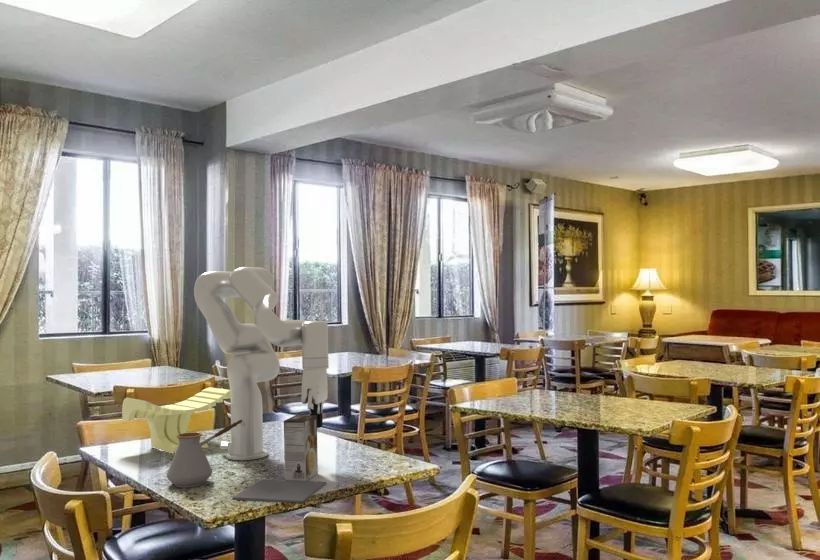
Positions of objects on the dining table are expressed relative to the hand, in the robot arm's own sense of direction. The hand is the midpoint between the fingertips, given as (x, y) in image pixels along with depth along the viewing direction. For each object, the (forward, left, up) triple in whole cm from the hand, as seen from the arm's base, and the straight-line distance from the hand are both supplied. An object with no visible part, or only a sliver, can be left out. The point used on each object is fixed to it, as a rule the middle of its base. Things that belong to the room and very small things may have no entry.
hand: (316, 427), depth 199 cm
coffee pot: (-24, -19, -11) cm, 33 cm away
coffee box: (0, -12, -11) cm, 17 cm away
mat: (0, -26, -11) cm, 28 cm away
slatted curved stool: (-55, +18, -11) cm, 59 cm away
